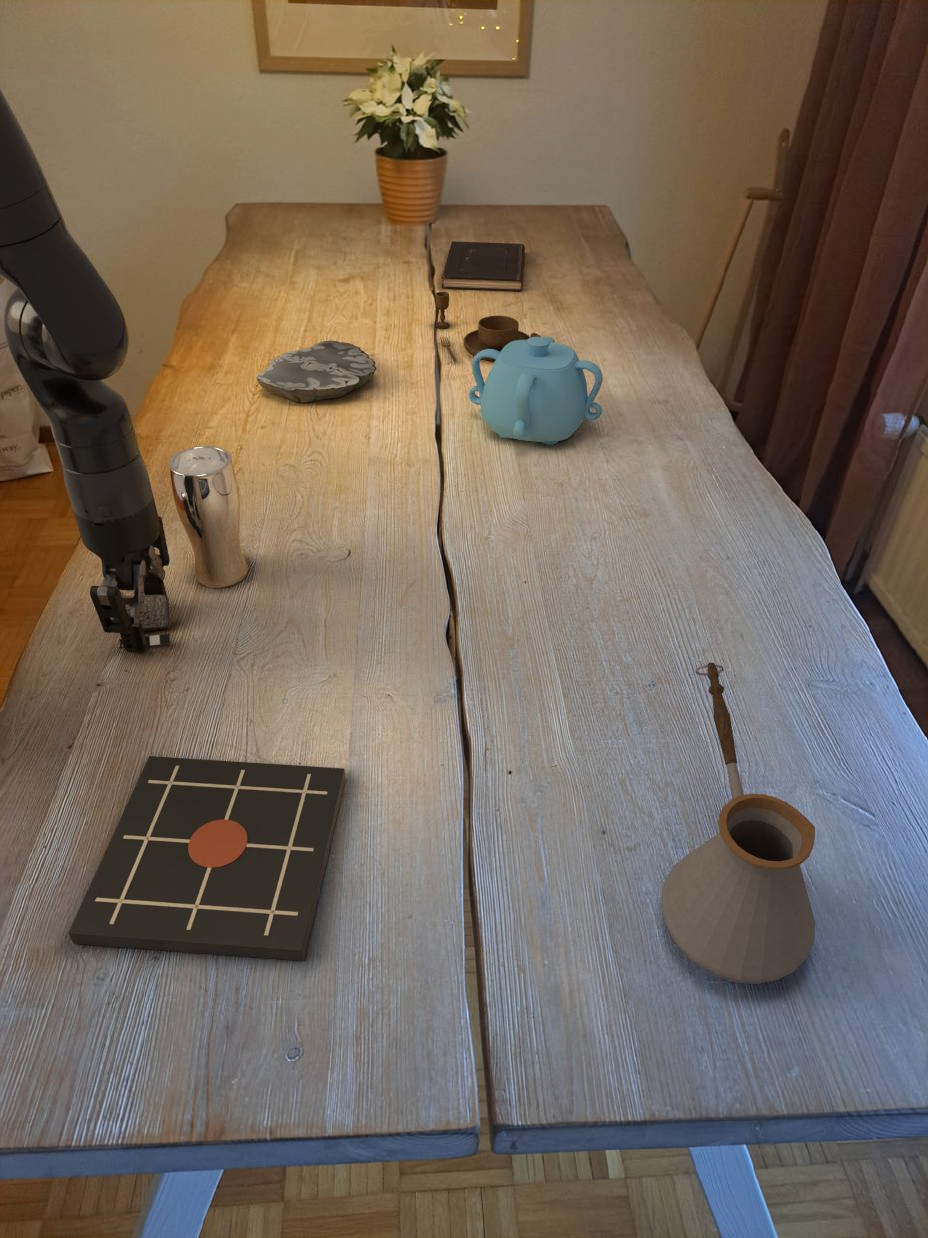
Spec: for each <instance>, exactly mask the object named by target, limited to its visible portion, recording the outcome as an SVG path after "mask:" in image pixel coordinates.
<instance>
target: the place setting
mask: <svg viewBox="0 0 928 1238" xmlns="http://www.w3.org/2000/svg"><path fill="white" fill-rule="evenodd" d="M449 305H450V293H449V292H448V291H437V292H436V293H435V306H436V308H437V309H438V310H439V320H440V321H438V322H436V323H434V327H435V328H436V329H439V330H446V329H449V328H450V327H451V324H450V323H449V322H446V321H445V320H446V315H445V312H446V310H448V308H449ZM477 323H478V324H477V329H475V330H473V331H470V332H468V333H466V334H465V336H464V337H463V346H464V349H465V350H466V351H467V352H468V354H470V355H472V356H473V357H475V355H476V354H477V353H479V352H480V351H482V350H485V349H494V350H497V351H499V352H501V351H502V349H503V348H504V347H505V346H506V345H507V344H508V343H510V342H512V341H516V340H527V339H529V338H531V337H542V336H541V335H540V334H538V333H536V332H531V334H530V335H529V334H527V333H526V332H523V331H521V330H519V326H520V325H519V320H517V319H515V318H513V317H511V316H506V315H489V316H485V317H483V318H480V319H479V320H478V322H477ZM439 339H440V342H441V346H443V348H446V349H447V351H448V353H449V355H450V357H451V359H452V360H453V362H454V363H457V358H456V357H455V355H454V353H453V351H452V349H451V347H450V346H451V343H450V341H449V338H448V336H442V337H441V336H439ZM481 360H484V361H488V362H495V361H496V359H493V358H489V357H485V358H482V359H481Z"/></svg>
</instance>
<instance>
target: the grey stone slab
mask: <svg viewBox="0 0 928 1238" xmlns="http://www.w3.org/2000/svg"><path fill="white" fill-rule="evenodd" d="M375 365H376V361H375V359H373V358H371V357H370V356H369V354H368V353H367V352H365V350H362V349H361V347H360V346H357V345H354V344H352V343H350V342H349V343H348V342H344V341H342V342H340V341H338V340H324V341H319V342H318V343H315V344H313V345H311V346H308V347H307V348H306V347H305V348H301V349H295V350H291V351H288V352H287V351H286V352H284V353H282V354H280V355H278V356H276V357H274V358H272V359H270V363H269V364H268V365H267V367H266V368H265V369H263V370H261V371H260V372H259V373H258V374H256V376H255V378H256V381H257V383H258V384H259V385H260V386H261V387H262V388H263V389H264V390H266V391H267V392H268V393H271V394H274V395H276V396H278V397H285V398H286V399H289V400H291V401H292V402H294V403H311V402H313V401H314V402H315V401H323V400H328V399H329V400H330V399H337V398H341V397H344V396H346V395H347V394H349V393H351V392H352V391H353V390H357V389H359V388H360V387H362V386H363V385H364V384H366V383H367V382H368V381H369V380H371V378H372V377H373V375H374V373H376V371H377V366H375Z"/></svg>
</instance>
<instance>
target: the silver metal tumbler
mask: <svg viewBox="0 0 928 1238" xmlns="http://www.w3.org/2000/svg"><path fill="white" fill-rule="evenodd" d="M168 467H169V475H170V483H171V489H172V490H171V491H172V495H173V500H174V504H175V508H176V511H177V514H178V517H179V519H180V522H181V524H182V526H183V529H184V531H185V533H186V535H187V538H188V539H189V542H190V545H191V547H192V552H193V555H194V576H195V579H196V581H197V582H198V583H199V584H200V585H202V586H204V587H207V588H213V589H222V588H227V587H231V586H234V585H237V584H238V583H240V582H241V581H243V580H244V579H245V578H246V576H247V575H248V572H249V566H248V563H247V561H246V558H245V554H244V553H243V550H242V546H241V539H240V537H241V536H240V535H241V530H240V529H241V499H240V498H241V496H240V488H239V484H238V479H237V476H236V475H237V474H236V471H235V468H234V465H233V461H232V455H231V454H230V452H229V451H228V450H227V449H225V448H222V447H219V446H214V445H198V446H192V447H188V448H185V449H182V450H180V451H178V452H176V453H175V454H174V455H173V456H171V458H170V459H169V462H168Z"/></svg>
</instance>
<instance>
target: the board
mask: <svg viewBox="0 0 928 1238" xmlns="http://www.w3.org/2000/svg"><path fill="white" fill-rule="evenodd" d="M345 784H346V770H345V768H343V767H327V766H315V765H314V766H311V765H298V764H297V765H295V764H281V763H279V764H278V763H264V762H251V761H250V762H249V761H233V760H218V759H201V758H186V757H169V756H156V755H155V756H154V755H148V758H147V759H146V762H145V764H144V766H143V769H142V771H141V773H140V775H139V777H138V779H137V781H136V784H135V785H134V788H133V790H132V793H131V795H130V796H129V799H128V801H127V804H126V805H125V808H124V810H123V812H122V814H121V817H120V819H119V821H118V823H117V825H116V827H115V830H114V832H113V834H112V836H111V839H110V841H109V843H108V845H107V847H106V849H105V851H104V854H103V856H102V858H101V860H100V862H99V864H98V867H97V869H96V871H95V874H94V876H93V877H92V881H91V883H90V885H89V887H88V889H87V891H86V893H85V895H84V897H83V900H82V902H81V904H80V907H79V909H78V910H77V912H76V915H75V917H74V919H73V922H72V924H71V926H70V929H69V931H68V932H67V933H68V936H69V938H70V940H71V942H72V944H73V945H86V946H100V947H114V948H126V949H138V950H139V949H141V950H154V951H165V952H181V953H192V954H193V953H194V954H207V955H221V956H234V957H247V958H260V959H261V958H262V959H272V960H273V959H275V960H287V961H299V962H300V961H301V962H304V961H305V960H306V955H307V951H308V946H309V941H310V937H311V934H312V929H313V925H314V920H315V916H316V912H317V906H318V903H319V898H320V895H321V894H320V893H321V889H322V884H323V881H324V876H325V872H326V868H327V863H328V859H329V854H330V850H331V845H332V840H333V836H334V833H335V828H336V824H337V819H338V814H339V810H340V806H341V801H342V796H343V792H344V787H345Z"/></svg>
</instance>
